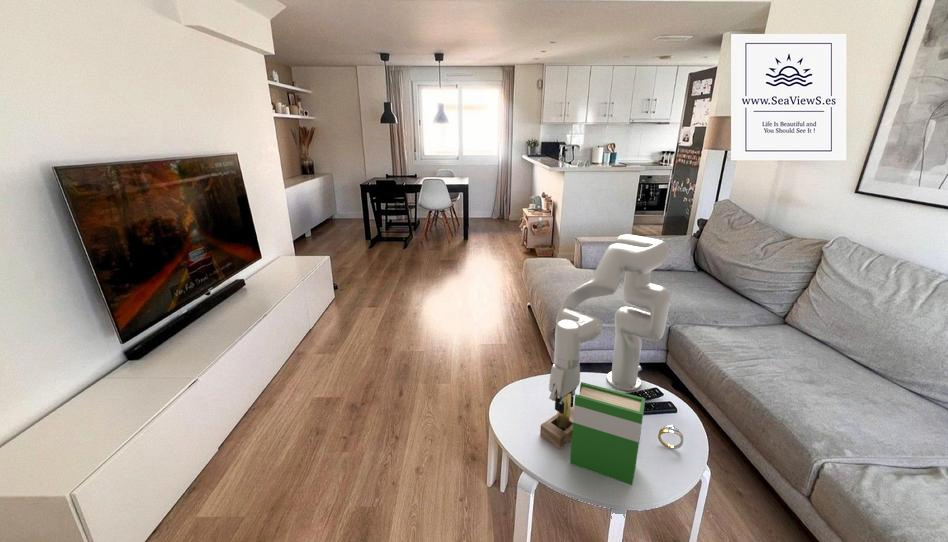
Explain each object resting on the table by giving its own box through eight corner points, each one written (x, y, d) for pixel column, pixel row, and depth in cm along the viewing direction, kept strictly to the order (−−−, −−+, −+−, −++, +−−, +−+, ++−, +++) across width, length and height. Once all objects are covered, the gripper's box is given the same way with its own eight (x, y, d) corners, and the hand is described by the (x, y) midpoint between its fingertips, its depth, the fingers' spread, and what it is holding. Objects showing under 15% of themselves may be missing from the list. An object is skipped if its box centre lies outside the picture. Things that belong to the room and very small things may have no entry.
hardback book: (569, 463, 119) (575, 396, 111) (575, 446, 125) (581, 381, 117) (632, 485, 111) (642, 414, 103) (635, 466, 117) (645, 398, 110)
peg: (562, 417, 133) (563, 387, 129) (571, 423, 130) (573, 393, 126) (554, 423, 130) (555, 392, 126) (564, 429, 128) (565, 398, 123)
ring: (681, 448, 123) (686, 428, 121) (680, 455, 121) (684, 434, 118) (657, 440, 127) (661, 419, 124) (655, 446, 125) (659, 425, 122)
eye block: (570, 413, 140) (571, 404, 139) (589, 425, 134) (590, 415, 133) (540, 434, 130) (540, 425, 129) (559, 448, 124) (560, 438, 123)
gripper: (573, 344, 130) (570, 391, 136) (539, 364, 120) (537, 414, 126) (593, 354, 124) (589, 402, 130) (559, 375, 114) (556, 426, 120)
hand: (563, 407), depth 128 cm, fingers closed on peg, 4 cm apart
